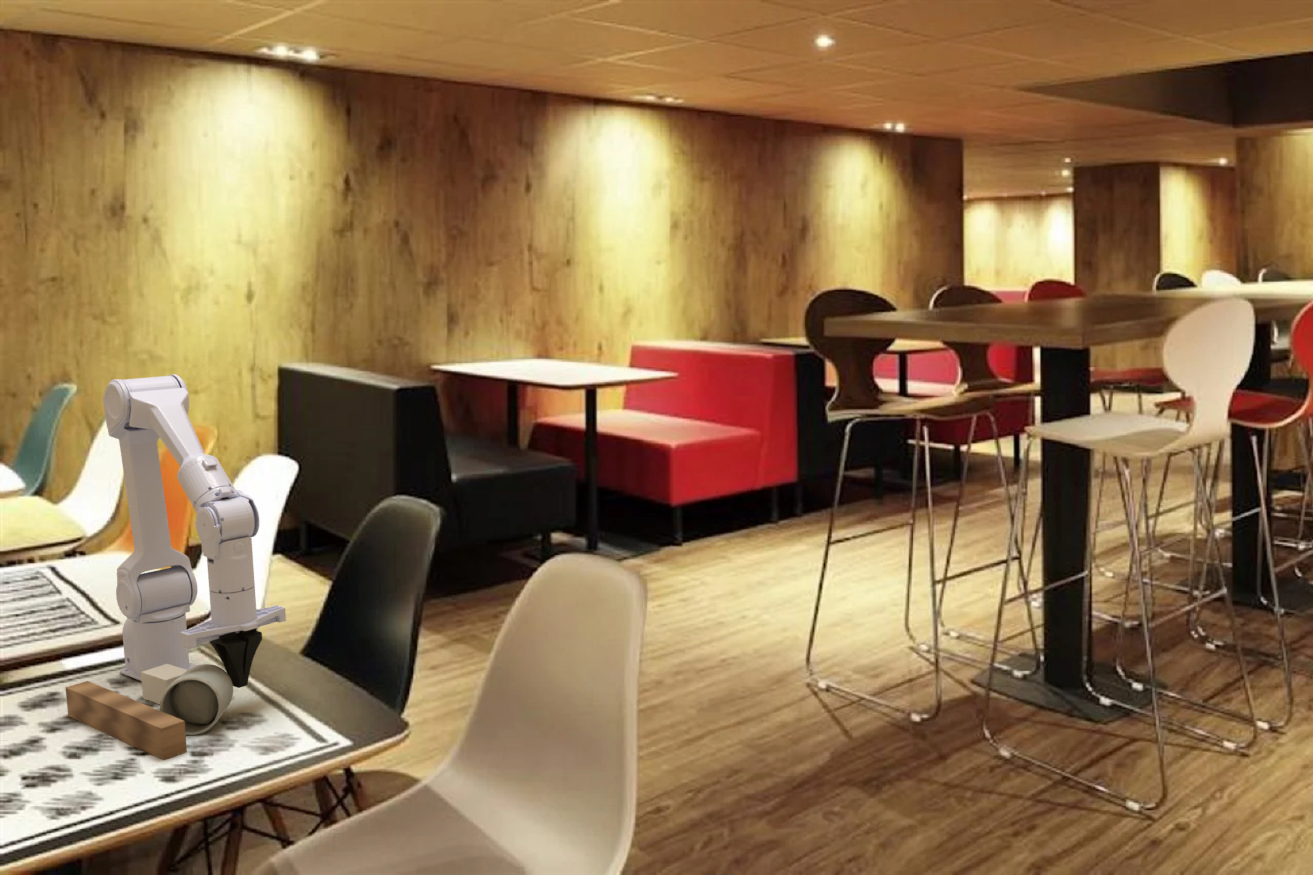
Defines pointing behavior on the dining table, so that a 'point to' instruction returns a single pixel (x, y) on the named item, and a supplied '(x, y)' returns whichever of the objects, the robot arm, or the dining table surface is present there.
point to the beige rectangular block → (159, 681)
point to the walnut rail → (127, 719)
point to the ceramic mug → (198, 697)
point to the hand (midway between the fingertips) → (239, 685)
